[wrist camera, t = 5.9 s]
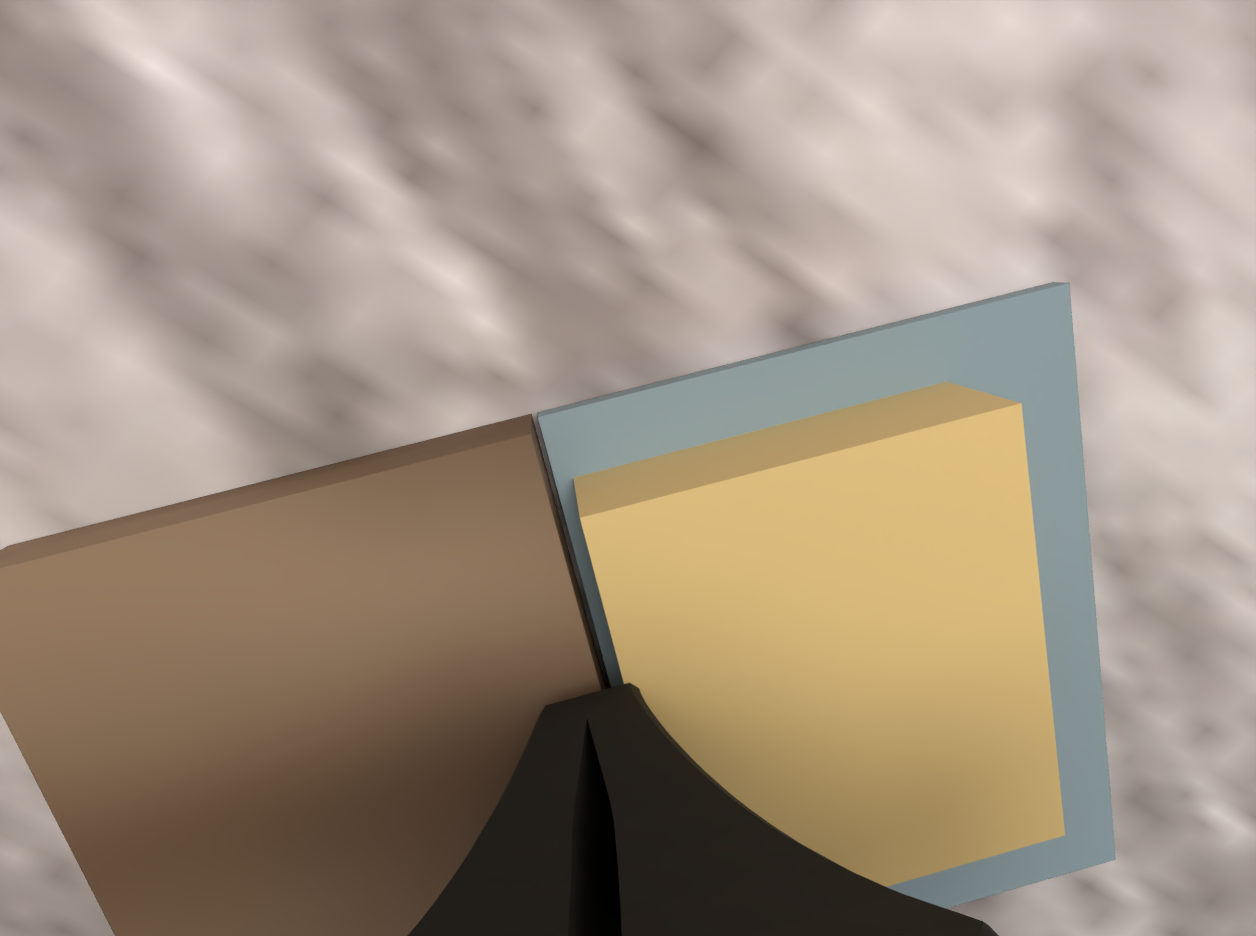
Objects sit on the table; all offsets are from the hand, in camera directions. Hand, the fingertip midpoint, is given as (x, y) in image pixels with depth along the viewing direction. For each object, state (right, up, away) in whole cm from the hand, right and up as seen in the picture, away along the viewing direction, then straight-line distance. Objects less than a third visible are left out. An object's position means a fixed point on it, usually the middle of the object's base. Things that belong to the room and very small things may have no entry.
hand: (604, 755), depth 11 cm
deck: (-4, -1, +2) cm, 5 cm away
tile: (+3, +1, +2) cm, 4 cm away
